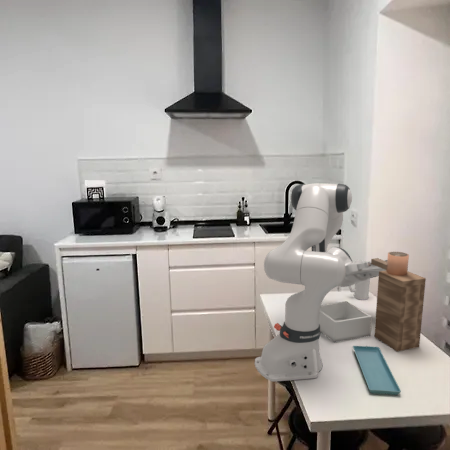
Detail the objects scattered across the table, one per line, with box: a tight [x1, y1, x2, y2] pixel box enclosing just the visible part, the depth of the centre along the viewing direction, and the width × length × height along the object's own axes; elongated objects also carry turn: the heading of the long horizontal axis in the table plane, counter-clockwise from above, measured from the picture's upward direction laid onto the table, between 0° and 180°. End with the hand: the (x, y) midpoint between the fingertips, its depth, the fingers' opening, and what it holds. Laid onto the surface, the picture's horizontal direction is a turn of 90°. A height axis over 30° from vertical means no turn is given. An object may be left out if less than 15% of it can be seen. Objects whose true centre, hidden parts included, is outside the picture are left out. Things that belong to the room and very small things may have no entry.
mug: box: [348, 278, 371, 301], centre depth 195 cm, size 10×7×12 cm, turn 92°
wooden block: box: [374, 270, 427, 352], centre depth 150 cm, size 10×12×26 cm
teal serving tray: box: [352, 345, 402, 396], centre depth 133 cm, size 26×9×2 cm, turn 174°
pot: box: [370, 251, 410, 276], centre depth 153 cm, size 16×7×7 cm, turn 19°
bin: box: [319, 301, 373, 343], centre depth 161 cm, size 16×16×8 cm
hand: (378, 262), depth 159 cm, fingers open, 8 cm apart
